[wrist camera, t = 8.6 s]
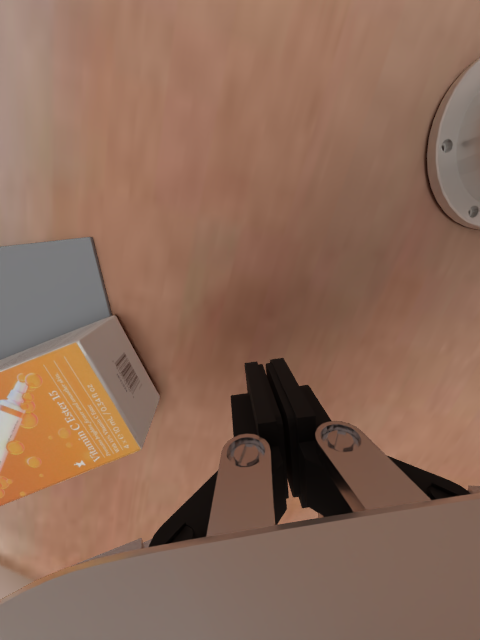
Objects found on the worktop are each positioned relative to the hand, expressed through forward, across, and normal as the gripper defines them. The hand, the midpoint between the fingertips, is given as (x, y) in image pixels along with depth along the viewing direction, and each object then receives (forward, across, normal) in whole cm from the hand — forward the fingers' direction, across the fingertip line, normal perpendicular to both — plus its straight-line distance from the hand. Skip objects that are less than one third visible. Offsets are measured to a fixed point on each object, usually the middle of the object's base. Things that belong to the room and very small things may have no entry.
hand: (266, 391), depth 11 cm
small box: (+7, +8, +2) cm, 11 cm away
